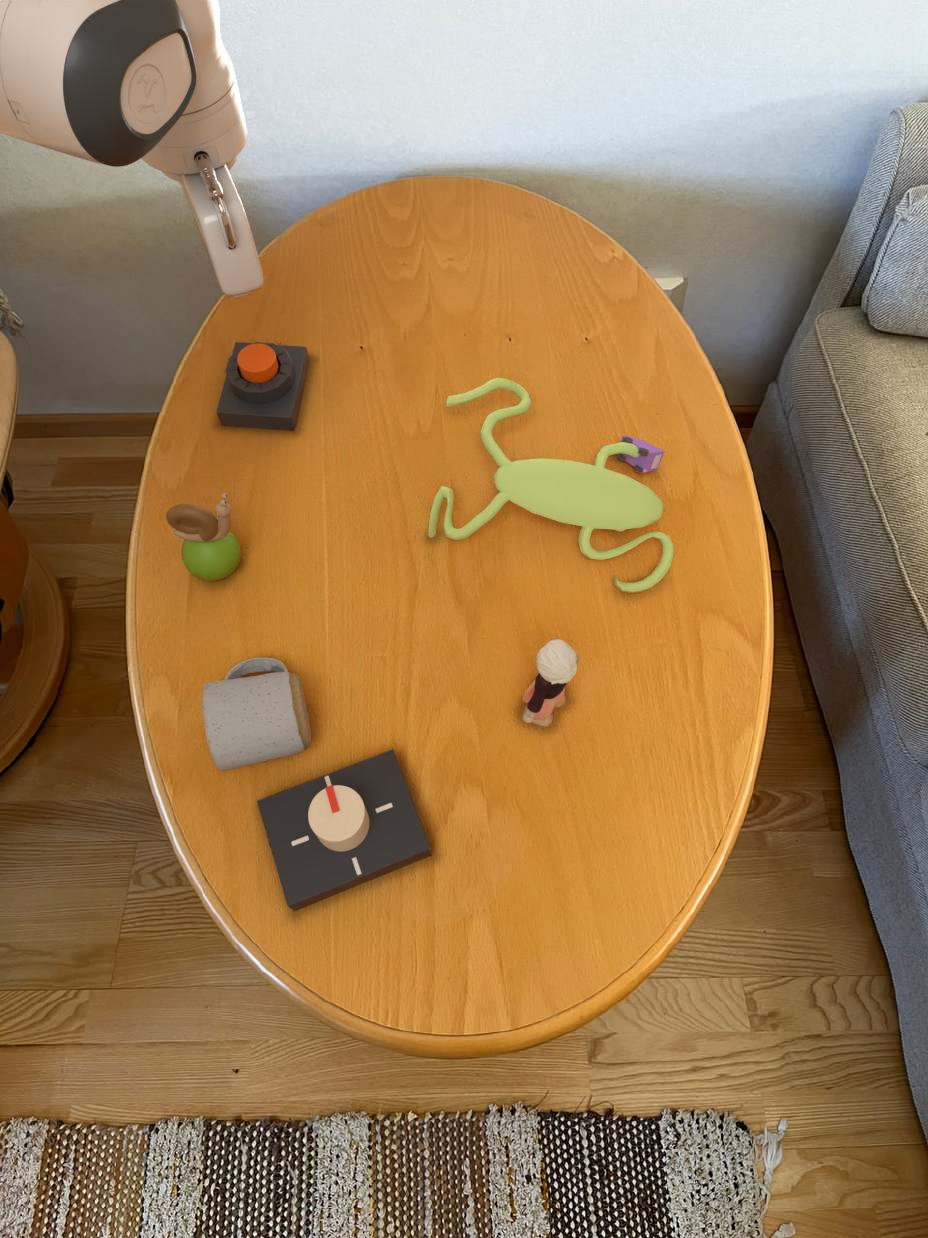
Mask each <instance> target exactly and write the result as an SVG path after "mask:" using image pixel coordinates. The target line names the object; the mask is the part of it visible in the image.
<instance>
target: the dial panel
mask: <svg viewBox="0 0 928 1238" xmlns="http://www.w3.org/2000/svg"><path fill="white" fill-rule="evenodd" d="M331 785H332V786H335V785H342V786H346V787H349V788H351V789H353V790H354V791H356V792H357V793H358V794H359V796H360V797H361V799H362V800H363V803H364V805H365V808H366V810H367V813H368V816H369V830H368V833H367V835H366V837H365V839H364V840H363V841H362V842H361V843H360V844H359V845H358V846H357V847H355V848H353V849H351V850H348V851H342V852H339V851H334V850H331V849H329V848H327V847H325V846H324V845H323V844H322V843H321V841H320V840H319V839H318V837H317V836H316V834H315V833H314V832H313V830H312V829H311V827H310V824H309V820H308V811H309V807H310V804H311V802H312V800H313V799H314V797H315V796H316V795H317V794H318V793H319V792H320V791H322V790H323V789H325V787H328V786H331ZM256 803H257V806H258V810H259V815H260V816H261V820H262V823H263V826H264V831H265V835H266V837H267V841H268V843H269V848H270V851H271V854H272V858H273V860H274V861H273V862H274V864H275V868H276V871H277V874H278V877H279V881H280V885H281V888H282V891H283V895H284V898H285V901H286V905H287V907H288V908H289V909H291V910H292V911H293V912H297V911H298V910H302V909H303V908H306V907H309V906H311V905H314V904H316V903H318V902H321V901H324V900H326V899H328V898H330V897H333V896H336V895H338V894H341V893H343V892H347V891H349V890H351V889H354V888H356V887H358V886H361V885H363V884H366V883H368V882H370V881H373V880H375V879H378V878H380V877H383V876H385V875H387V874H389V873H392V872H395V871H398V870H400V869H403V868H404V867H407V866H409V865H412V864H414V863H417V862H419V861H423V860H425V859H427V858H429V857H431V856H432V849H431V846H430V843H429V840H428V838H427V835H426V832H425V830H424V826H423V825H422V822H421V819H420V816H419V814H418V811H417V808H416V806H415V803H414V801H413V798H412V796H411V793H410V790H409V787H408V785H407V782H406V780H405V777H404V774H403V771H402V768H401V766H400V764H399V761H398V759H397V756H396V754H395V751H394V749H390V750H387V751H384V752H382V753H380V754H377V755H373V756H372V757H369V758H365V759H364V760H360V761H357V762H356V763H353V764H351V765H348V766H344V767H342V768H340V769H337V770H334V771H332V772H330V773H327V774H324V775H321V776H319V777H316V778H314V779H311V780H308V781H305V782H303V783H299V784H298V785H295V786H293V787H291V788H287V789H284V790H282V791H279V792H277V793H275V794H274V793H273V794H272V795H268V796H265V797H264V798H261V799H259V800H257V801H256Z"/></svg>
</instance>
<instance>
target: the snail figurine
mask: <svg viewBox="0 0 928 1238" xmlns="http://www.w3.org/2000/svg"><path fill="white" fill-rule="evenodd" d="M220 498H221V499H220V501H219V502H217V504H215V506H214V512H215V514H216V515H217V517H216V515H215V514H214V513H213V512H212V511H210V510H209V509H207V508H205V507H203V506H200V505H197V504H191V503H178V504H175V505H173V506H171V507H169V509H168V510H167V511H166V515H165V519H166V521H167V523H168V525H169V526H170V527H171V528H173V529H174V530H173V534H174V535H175V536H176V537H178V538H180V539H182V540H183V541H182V544H181V550H180V552H181V553H180V554H181V559H182V562H183V564H184V566H185V568H186V570H187V571H188V572H189V573H190V574H192V576H194V577H196V578H198V579H200V580H203V581H208V582H214V581H220V580H224V579H226V578H227V577H229V576H231V574H233V572H235V570H236V569H237V567H238V566H239V564H240V560H241V554H242V553H241V545H240V543H239V541H238V538H237V537H236V535H234V533H233V532H232V531H230V530H231V527H232V515H231V514H232V506H231V505H230V504H229V503H228V500H227V499H228V495H227V493H225V492H223V493H221V494H220Z"/></svg>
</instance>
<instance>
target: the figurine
mask: <svg viewBox="0 0 928 1238" xmlns="http://www.w3.org/2000/svg"><path fill="white" fill-rule="evenodd" d="M497 390H504V391H505V390H506V391H508V392H510V393H512V394H514V395H515V396H516V397H518V398H519V400H520V402H519V403H518V404H516V405H513V406H509V407H503V408H500V409H497V410H494V411H492V412H491V413H489V414H488V415H487V416H486V418H485V420H484V422H483V423H482V426H481V430H480V432H479V436H480V438H481V442H482V444H483V446H484V448H485V449H486V451H487V452H488V454H489V456H490V458H492V460H493V461H494V462H495V464H496V465H497V466H498V467H499V468H498V469H497V470H496V472H495V473H494V474H493V476H492V478H493V482H494V485H495V488H496V489H497V491H498V493H496V495H495V496H494V498H493V499H492V500H491V501H490V503H489V504H488V505H487V506H486V507H485V508H484V509H483V510H482V511H480V512H479V513H478V514H477V515H475V516H474V517H473V518H472V519H470V520H469V521H468V522H467V523H465V525H463V526H462V527H460V528H455V527H454V524H453V520H452V516H453V508H454V503H455V501H454V500H455V496H454V490H453V489H452V488H450V487H448V486H446V485H441V486H440V488H439V490H437V493H436V494H435V496H434V498H433V501H432V504H431V508H430V514H429V521H428V532H427V536H428V538H430V539H432V538H434V537H435V536H436V534H437V529H438V521H439V515H440V512H441V508H442V504H443V502H444V501H445V499H446V501H447V502H446V504H447V505H446V509H445V514H444V517H443V524H442V527H443V531H444V533H445V537H446V538H448V539H451V540H453V541H456V542H459V541H462V540H465V539H467V538H469V537H470V536H472V535H473V534H474V533H475V532H477V531H478V530H479V529H481V528H482V527H483V526H485V524H487V523H488V522H489V521H491V520H492V519H493V518H494V517H495V516H496V515H497V514H498V513H499V512H500V510H501V509H502V508H503V507H504V505H505V504H506V503H507V502H511V503H513V504H515V505H517V506H519V507H521V508H523V509H525V510H526V511H529V512H530V513H532V514H535V515H537V516H541V517H544V518H547V519H549V520H553V521H555V522H558V523H563V524H566V525H572V526H578V527H581V528H580V529H579V533H578V538H577V543H578V549H579V551H580V552H581V553H582V554H583V555H584V556H585V557H586V559H589V560H595V561H602V560H607V559H613V558H615V557H618V556H621V555H623V554H625V553H628V552H629V551H630V550H632V549H634V548H635V547H637V546H638V545H640V544H641V543H642V542H645V541H646V540H648V539H652V538H653V539H657V540H658V541H659V543H660V545H661V556H660V559H659V562H658V564H657V565H656V567H655V568H654V570H652V572H650V574H649V575H647V576H646V577H644V578H643V579H641V580H639V581H638V580H637V581H635V582H624V581H621V580H619V579H618V578H617V577H616V576H615V574H611V581H612V583H613V585H614V587H616V588H617V589H618V590H619V591H620V592H622V593H627V594H636V593H637V594H638V593H642V592H645V591H648V590H651V589H652V588H654V587H655V586H656V585H657V584H659V583H660V582H661V581H662V579H663V578H665V577H666V575H667V573H668V572H669V570H670V569H671V567H672V563H673V561H674V557H675V544H674V542H673V539H672V538H671V536H670V535H668V534H666V533H664V532H662V531H659V530H657V531H656V530H655V531H652V532H647V533H644V534H642V535H640V536H637V537H636V538H634V539H632V540H630V541H628V542H627V543H623V544H622V545H619V546H617V547H613V548H610V549H606V550H596V549H595V548H593V547H592V543H591V536H592V534H593V532H594V529H600V530H613V531H616V532H618V533H621V532H625V531H626V530H629V529H630V530H631V529H640V528H645V527H647V526H650V525H652V524H654V523H656V522H658V521H660V519H661V518H662V516H663V514H664V513H665V511H666V510H665V507H664V503H663V501H662V500H663V499H662V498H661V497H660V496H659V495H657V494H656V493H655V492H654V491H653V490H652V489H651V488H650V487H649V486H647V485H646V484H643V483H642V482H639V481H637V480H635V479H634V478H632V477H630V476H628V475H626V474H623V473H620V472H616V471H614V470H611V469H608V468H606V463H607V459H608V458H609V457H611V456H615V455H616V456H617V460H618V461H620V462H623V463H624V462H627V463H628V464H629V465H631V466H632V467H634V468H633V470H634V472H637V473H641V474H645V473H649V472H654V471H658V469H659V466H660V464H661V462H662V459H663V457H664V454H665V452H666V451H665V450H663V449H661V448H660V447H657V446H656V445H653V444H652V443H650V442H647V441H646V440H642V439H640V438H635V437H632V436H631V435H622V436H621V439H620V442H615V443H610V444H606V445H604V446H602V447H601V448H600V450H599V452H598V453H597V455H596V457H595V460H594V464H589V463H585V462H580V461H575V460H569V459H560V458H559V459H557V458H546V457H545V458H543V457H538V458H537V457H536V458H528V459H518V460H514V461H511V460H510V459H509V458H508V457H507V456H506V454H505V453H504V452H503V450H502V449H501V448H500V447H499V445H498V443H497V442H496V440H495V438H494V436H493V431H494V428H495V426H496V425H497V423H499V422H501V421H504V420H506V419H510V418H514V417H520V416H521V415H524V414H526V413H528V412H529V410H530V408H531V407H532V401H531V396H530V394H529V392H528V391H527V390H526V389H525V388H524V387H523V386H522V385H521V384H518V383H516V382H515V381H513V380H510V379H509V378H508V379H507V378H501V377H494V378H492V379H490V380H488V381H486V382H484V383H483V384H482V385H479V386H478V387H476V388H474V389H471V390H468V391H466V392H463V393H459V394H453V395H448V396H447V399H446V406H445V407H446V408H450V407H457V406H462V405H465V404H468V403H470V402H473V401H475V400H479V399H481V398H483V397H485V396H487V395H488V394H490V393H492V392H495V391H497Z"/></svg>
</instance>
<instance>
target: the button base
mask: <svg viewBox="0 0 928 1238" xmlns="http://www.w3.org/2000/svg"><path fill="white" fill-rule="evenodd" d="M251 344H265V345H267V346H269V347H271V348H272V349H273V350H274V352H275V355H276V359H277V363H278V372H277V374H276V376H275V377H274V378H273V379H271V380H270V381H267V382H264V383H259V384H258V383H251V382H249V381H247V380H245V379H244V378H243V376H242V375H241V372H240V369H239V366H238V362H237V357H238V354H239V352H240V351H241V350H242V349H243V348H245V347H246V346H248V345H251ZM232 349H233V350H232V353H231V355H230V356H229V357H228V360H227V363H226V367H225V379H224V383H223V387H222V390H221V394H220V398H219V400H218V401H219V402H218V405H217V408H216V415H217V417H218V420H219V423H220V426H223V427H235V428H236V427H237V428H252V429H264V430H265V429H266V430H279V431H292V432H295V430H296V426H297V421H298V417H299V413H300V407H301V403H302V399H303V393H304V389H305V384H306V379H307V375H308V370H309V365H310V357H309V352H308V347H307V346H299V345H287V344H276V343H274V342H261V341H256V342H245V341H244V342H241V341H235V342H234V346H233V348H232Z"/></svg>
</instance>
